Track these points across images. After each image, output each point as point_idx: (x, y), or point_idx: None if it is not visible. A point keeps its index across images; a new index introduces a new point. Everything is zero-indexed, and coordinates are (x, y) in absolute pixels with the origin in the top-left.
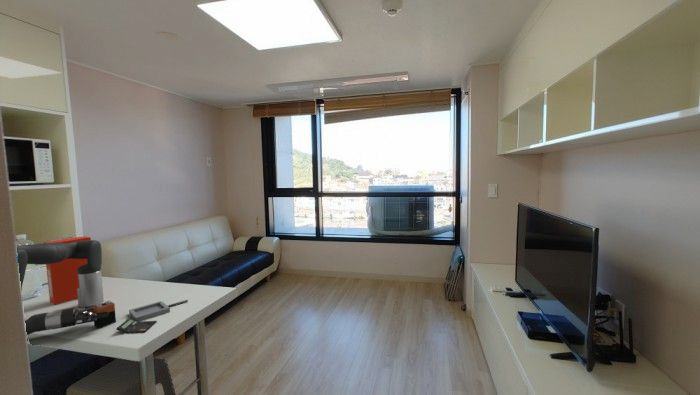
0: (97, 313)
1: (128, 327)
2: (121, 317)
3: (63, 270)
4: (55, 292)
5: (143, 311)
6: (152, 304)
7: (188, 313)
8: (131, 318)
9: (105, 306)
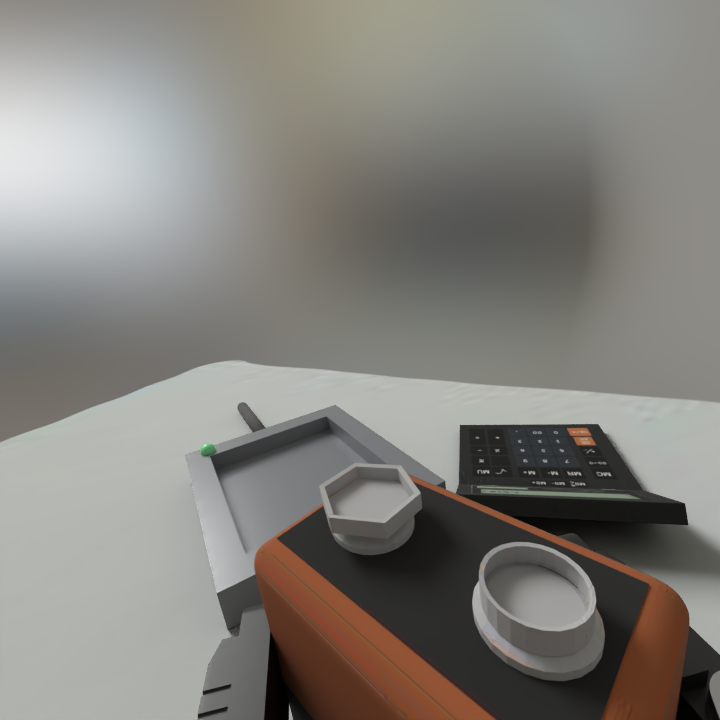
0: (709, 665)
1: (584, 491)
2: None
3: None
4: None
5: (280, 512)
6: (216, 475)
7: (389, 383)
8: (463, 492)
9: (508, 517)
